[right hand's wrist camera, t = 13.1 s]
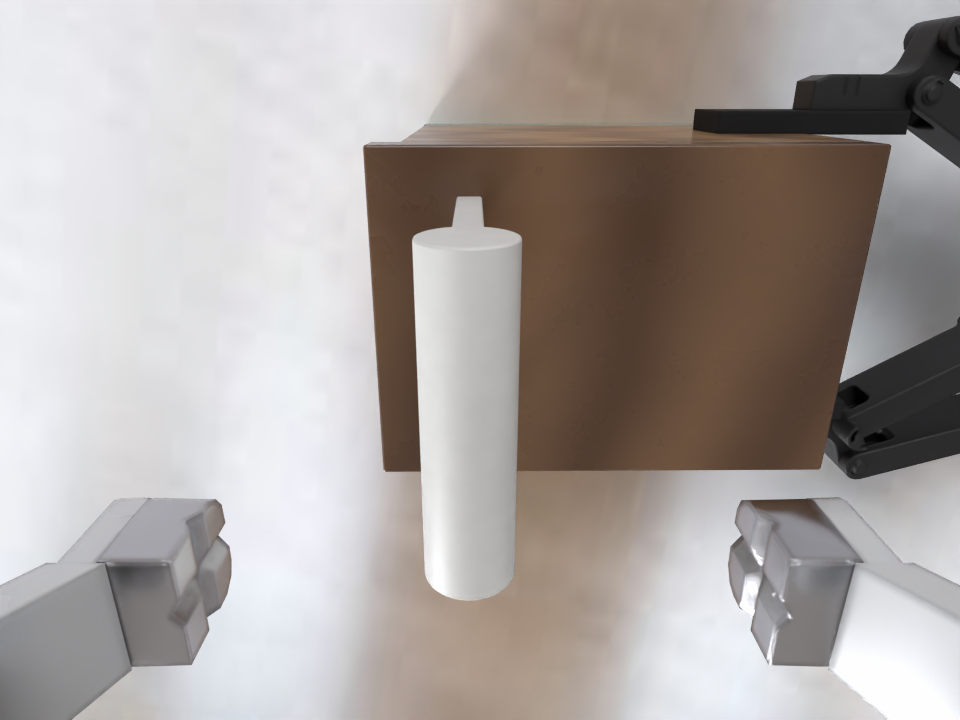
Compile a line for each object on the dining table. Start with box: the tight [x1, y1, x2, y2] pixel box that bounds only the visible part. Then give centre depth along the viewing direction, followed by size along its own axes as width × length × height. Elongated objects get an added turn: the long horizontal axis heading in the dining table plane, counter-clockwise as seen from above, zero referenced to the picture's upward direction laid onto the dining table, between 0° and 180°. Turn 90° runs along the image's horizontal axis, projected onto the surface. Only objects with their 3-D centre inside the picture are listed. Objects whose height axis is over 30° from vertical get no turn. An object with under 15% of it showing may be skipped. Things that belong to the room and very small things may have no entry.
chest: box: [401, 124, 865, 142], centre depth 26 cm, size 14×10×11 cm
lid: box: [363, 142, 891, 600], centre depth 17 cm, size 14×10×8 cm
